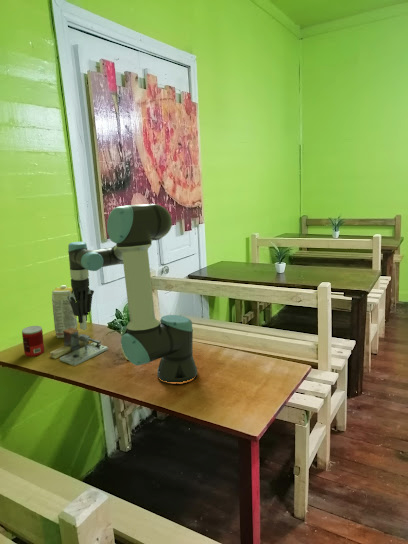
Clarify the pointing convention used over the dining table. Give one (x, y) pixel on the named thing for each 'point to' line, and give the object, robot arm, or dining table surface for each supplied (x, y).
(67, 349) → the rail
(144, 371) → the dining table surface
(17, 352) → the dining table surface
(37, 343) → the canned food
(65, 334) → the slide leg
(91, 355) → the bolt plate
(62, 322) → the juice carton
